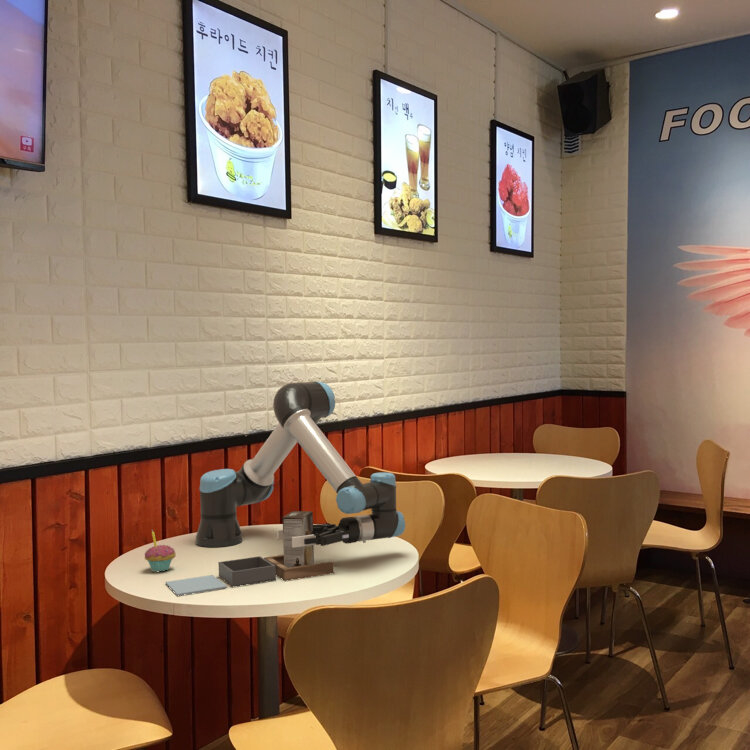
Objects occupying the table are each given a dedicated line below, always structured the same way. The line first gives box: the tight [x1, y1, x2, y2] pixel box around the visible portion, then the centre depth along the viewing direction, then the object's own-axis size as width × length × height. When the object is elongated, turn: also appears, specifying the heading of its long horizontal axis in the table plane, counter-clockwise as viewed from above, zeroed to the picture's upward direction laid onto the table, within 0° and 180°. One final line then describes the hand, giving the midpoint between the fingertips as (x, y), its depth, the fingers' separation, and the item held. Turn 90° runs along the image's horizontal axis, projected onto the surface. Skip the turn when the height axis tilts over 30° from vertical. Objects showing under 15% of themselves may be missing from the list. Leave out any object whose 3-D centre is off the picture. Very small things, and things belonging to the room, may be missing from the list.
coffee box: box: [282, 510, 315, 568], centre depth 224 cm, size 9×6×16 cm
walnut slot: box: [263, 554, 335, 581], centre depth 224 cm, size 16×15×3 cm
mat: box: [165, 574, 228, 597], centre depth 210 cm, size 13×13×1 cm
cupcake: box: [144, 529, 176, 572], centre depth 227 cm, size 9×8×12 cm
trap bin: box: [217, 556, 277, 588], centre depth 217 cm, size 12×12×4 cm
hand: (284, 538), depth 222 cm, fingers closed on coffee box, 10 cm apart
